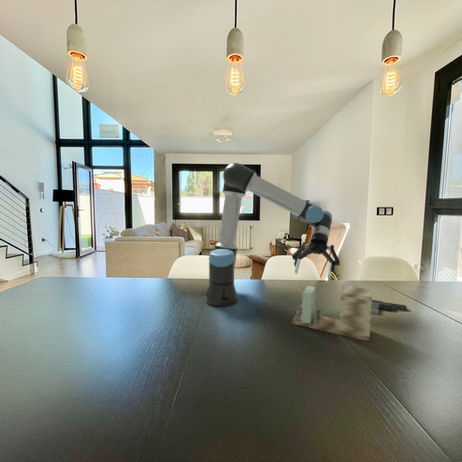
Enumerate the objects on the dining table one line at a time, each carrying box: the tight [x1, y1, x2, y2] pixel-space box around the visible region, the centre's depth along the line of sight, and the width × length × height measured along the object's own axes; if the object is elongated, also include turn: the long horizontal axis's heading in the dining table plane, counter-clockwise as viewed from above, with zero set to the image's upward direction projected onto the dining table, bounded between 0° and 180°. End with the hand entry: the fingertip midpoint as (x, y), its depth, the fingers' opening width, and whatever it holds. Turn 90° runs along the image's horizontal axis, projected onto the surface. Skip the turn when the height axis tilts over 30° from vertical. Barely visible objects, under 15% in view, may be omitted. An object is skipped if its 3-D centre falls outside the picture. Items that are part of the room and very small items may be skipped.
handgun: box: [371, 299, 408, 315], centre depth 103 cm, size 3×18×12 cm
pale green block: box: [299, 285, 316, 323], centre depth 90 cm, size 4×9×11 cm, turn 152°
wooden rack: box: [291, 285, 373, 342], centre depth 86 cm, size 25×9×15 cm, turn 61°
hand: (311, 274), depth 102 cm, fingers open, 13 cm apart
